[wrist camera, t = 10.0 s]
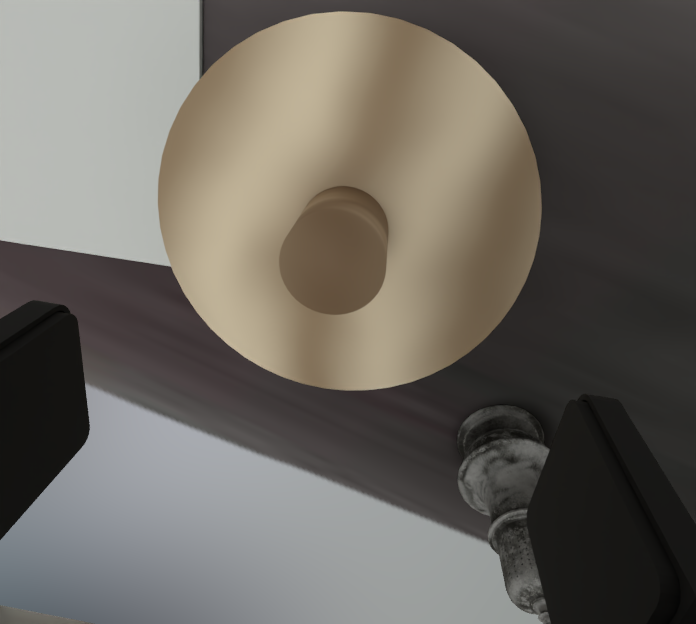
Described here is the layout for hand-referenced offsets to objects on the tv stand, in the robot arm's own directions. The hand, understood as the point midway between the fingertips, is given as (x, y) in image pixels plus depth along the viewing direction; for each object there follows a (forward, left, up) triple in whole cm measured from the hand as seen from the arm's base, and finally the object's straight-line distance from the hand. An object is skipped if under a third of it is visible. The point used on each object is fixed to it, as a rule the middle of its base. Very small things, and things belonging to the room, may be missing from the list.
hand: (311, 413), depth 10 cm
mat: (+17, -3, -19) cm, 25 cm away
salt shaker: (-10, +14, -19) cm, 26 cm away
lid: (+1, 0, -13) cm, 13 cm away
